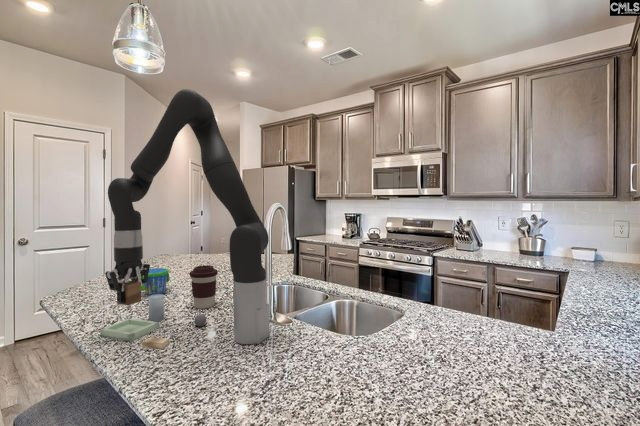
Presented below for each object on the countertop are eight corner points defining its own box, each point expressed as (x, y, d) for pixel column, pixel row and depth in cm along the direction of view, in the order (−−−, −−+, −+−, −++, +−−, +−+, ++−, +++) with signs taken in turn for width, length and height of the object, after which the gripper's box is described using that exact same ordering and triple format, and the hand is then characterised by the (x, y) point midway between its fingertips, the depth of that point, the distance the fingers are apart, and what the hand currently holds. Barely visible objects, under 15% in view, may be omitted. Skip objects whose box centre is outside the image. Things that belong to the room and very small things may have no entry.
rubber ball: (208, 324, 107) (208, 313, 106) (201, 328, 103) (201, 317, 103) (199, 323, 108) (199, 312, 108) (192, 327, 104) (191, 316, 104)
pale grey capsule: (167, 318, 113) (166, 294, 112) (156, 322, 108) (155, 298, 108) (156, 316, 114) (156, 293, 114) (145, 321, 110) (145, 297, 110)
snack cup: (149, 300, 133) (149, 275, 133) (130, 297, 137) (129, 273, 136) (178, 290, 148) (178, 267, 147) (160, 288, 151) (159, 266, 151)
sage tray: (158, 328, 103) (158, 322, 103) (131, 341, 94) (130, 334, 94) (129, 324, 107) (129, 317, 107) (100, 335, 98) (100, 329, 98)
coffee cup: (184, 307, 123) (183, 268, 123) (205, 300, 132) (204, 263, 132) (203, 312, 119) (203, 270, 118) (223, 304, 128) (223, 265, 127)
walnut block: (141, 301, 102) (140, 281, 101) (128, 305, 97) (128, 285, 97) (130, 299, 103) (129, 280, 103) (117, 303, 99) (116, 284, 99)
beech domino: (169, 345, 92) (169, 338, 92) (162, 350, 89) (162, 343, 89) (149, 344, 93) (149, 337, 93) (142, 348, 90) (142, 341, 90)
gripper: (116, 248, 92) (117, 309, 92) (156, 242, 105) (157, 295, 106) (96, 247, 94) (98, 306, 95) (138, 241, 108) (139, 293, 108)
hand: (129, 300), depth 100 cm, fingers closed on walnut block, 4 cm apart
